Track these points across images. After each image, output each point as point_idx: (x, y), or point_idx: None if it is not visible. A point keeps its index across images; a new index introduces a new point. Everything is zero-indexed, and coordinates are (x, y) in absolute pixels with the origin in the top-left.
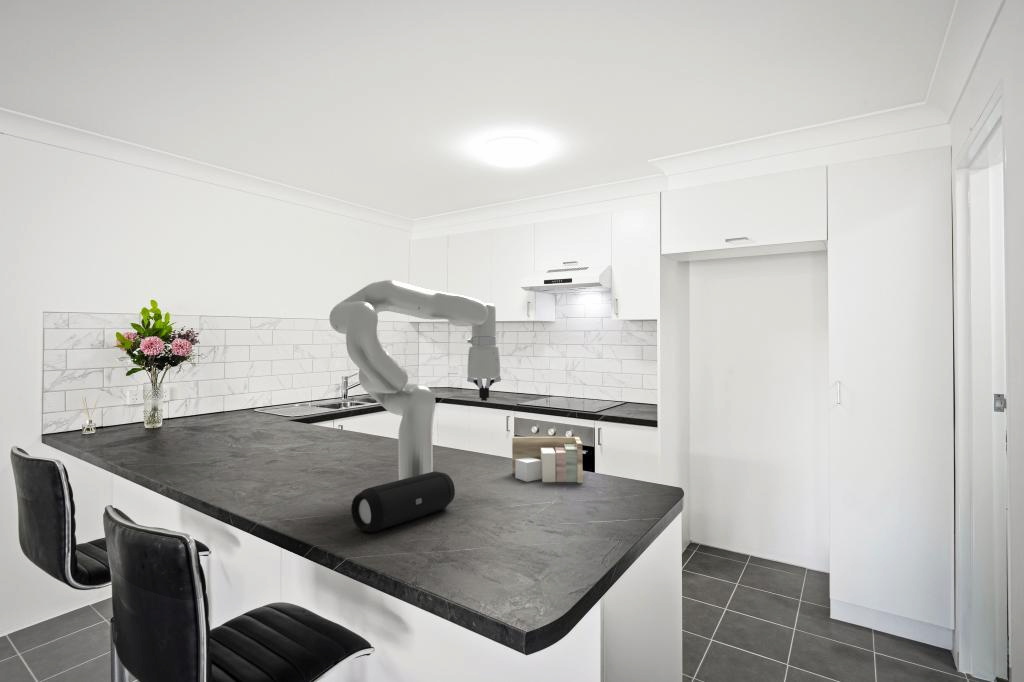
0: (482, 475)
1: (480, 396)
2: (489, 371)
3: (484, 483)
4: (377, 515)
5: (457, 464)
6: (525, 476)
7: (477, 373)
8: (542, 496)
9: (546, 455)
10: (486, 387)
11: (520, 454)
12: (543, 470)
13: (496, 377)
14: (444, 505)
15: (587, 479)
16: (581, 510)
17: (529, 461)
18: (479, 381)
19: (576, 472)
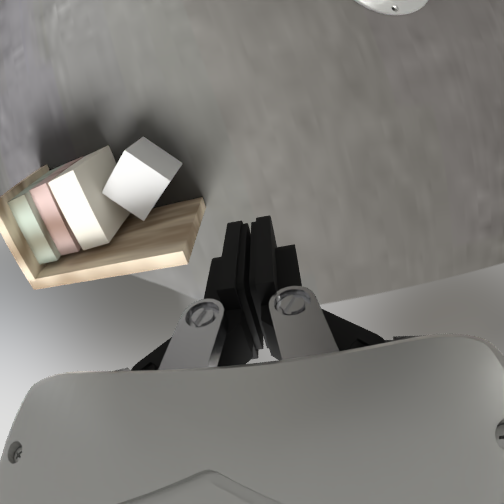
0: (277, 167)
1: (284, 247)
2: (90, 461)
3: (246, 90)
4: None
5: (366, 258)
6: (144, 142)
7: (347, 427)
8: (79, 36)
9: (68, 171)
10: (215, 302)
11: (170, 226)
12: (94, 154)
13: (53, 377)
14: None
15: None
16: (11, 2)
17: (123, 167)
18: (305, 347)
19: (39, 177)
